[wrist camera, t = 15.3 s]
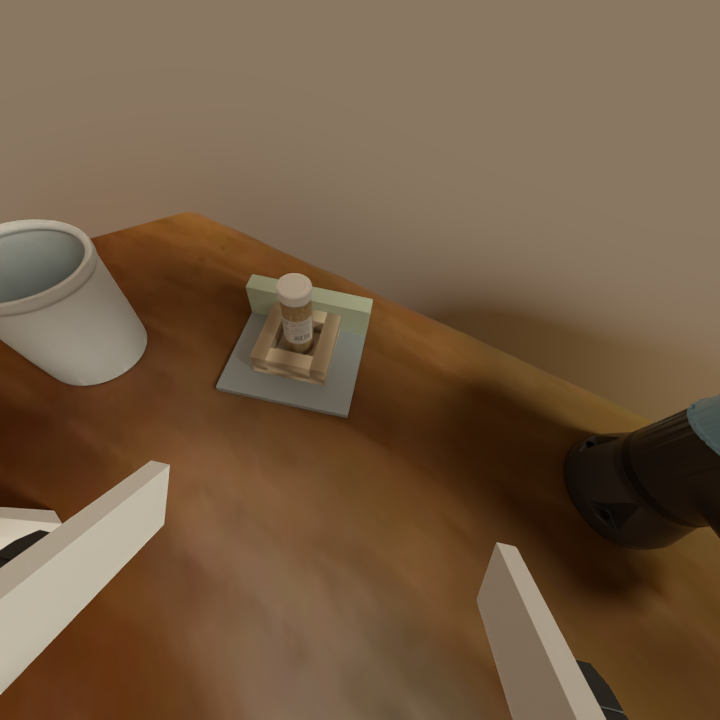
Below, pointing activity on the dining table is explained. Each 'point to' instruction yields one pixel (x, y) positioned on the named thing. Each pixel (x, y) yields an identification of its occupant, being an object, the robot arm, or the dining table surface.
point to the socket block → (281, 362)
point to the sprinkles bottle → (296, 312)
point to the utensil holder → (64, 304)
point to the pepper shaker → (24, 523)
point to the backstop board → (291, 391)
